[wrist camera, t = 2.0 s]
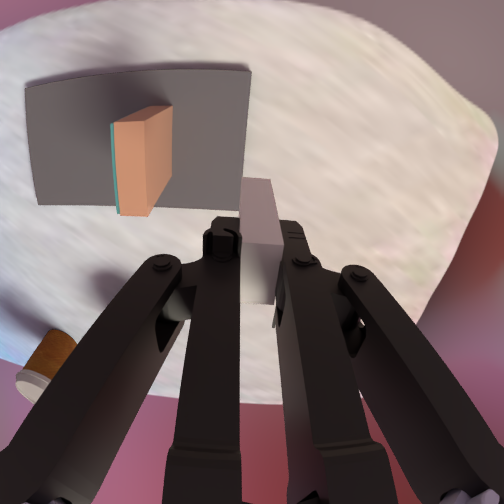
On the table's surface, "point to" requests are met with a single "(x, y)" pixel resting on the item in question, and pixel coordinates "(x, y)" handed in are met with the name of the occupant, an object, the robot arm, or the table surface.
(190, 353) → the robot arm
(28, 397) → the disposable coffee cup
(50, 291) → the table surface
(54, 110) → the mat
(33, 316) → the table surface
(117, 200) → the tile
